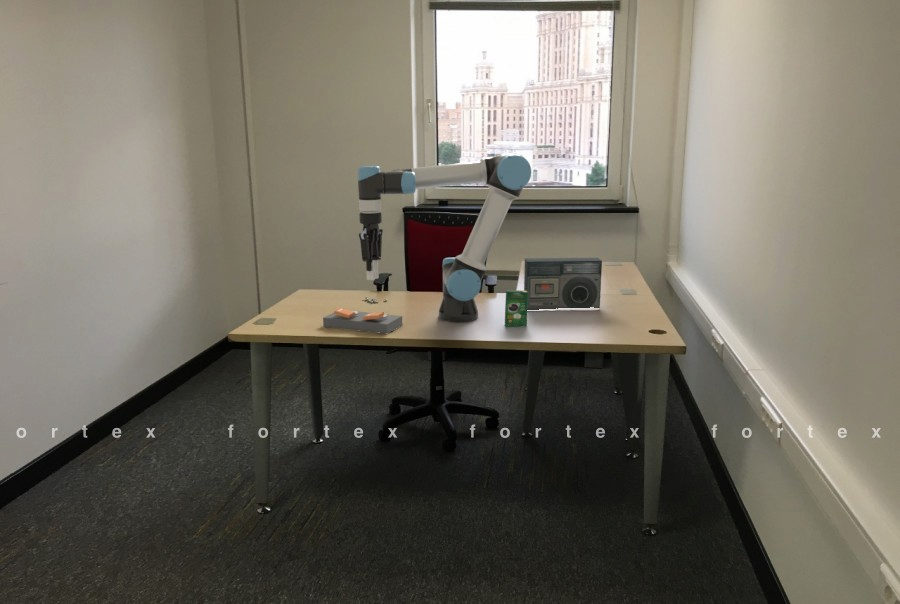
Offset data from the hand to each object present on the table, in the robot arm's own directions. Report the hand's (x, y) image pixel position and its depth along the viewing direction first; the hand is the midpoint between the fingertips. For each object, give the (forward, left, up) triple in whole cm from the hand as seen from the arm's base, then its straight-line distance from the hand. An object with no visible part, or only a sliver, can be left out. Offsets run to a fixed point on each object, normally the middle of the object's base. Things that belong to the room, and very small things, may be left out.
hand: (372, 278), depth 235 cm
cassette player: (-56, -53, -19) cm, 79 cm away
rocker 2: (0, 0, -13) cm, 13 cm away
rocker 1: (+12, 0, -13) cm, 18 cm away
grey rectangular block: (+6, -3, -18) cm, 20 cm away
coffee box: (-46, -23, -19) cm, 55 cm away
